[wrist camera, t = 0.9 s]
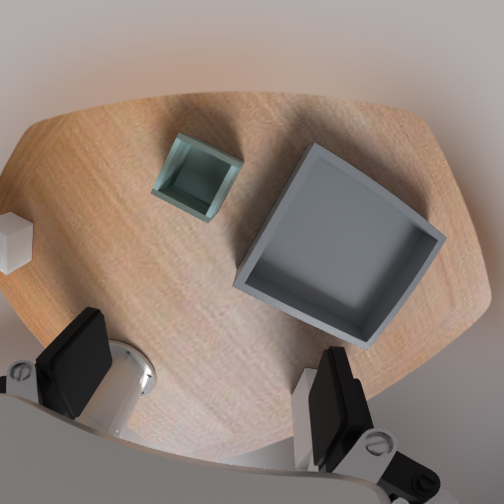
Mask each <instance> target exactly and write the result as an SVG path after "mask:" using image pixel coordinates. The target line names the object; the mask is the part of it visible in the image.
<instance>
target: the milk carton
mask: <svg viewBox="0 0 504 504" xmlns="http://www.w3.org/2000/svg"><path fill="white" fill-rule="evenodd" d="M317 370H318V369H311V368H305V369H304V371H303V373H302V375H301V377H300V379H299V382H298V384H297V386H296V388H295V390H294V392H293V394H292V396H291V403H292V418H293V433H294V449H295V466H296V469H297V470H298V471H314V472H319V471H318V466H314V462H313V449H312V437H311V426H310V415H309V405H308V396H309V392H310V390H311V387H312V384H313V381H314V378H315V375H316V373H317Z"/></svg>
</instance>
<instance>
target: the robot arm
mask: <svg viewBox="0 0 504 504" xmlns="http://www.w3.org/2000/svg"><path fill="white" fill-rule="evenodd" d="M36 362H37V363H36V364H35V365H34V364H33V363H31V362H30V361H27V360H20V361H17V362H14V363H13V364H12V365H11V366H10V367H9V369H8V370H7V376H2V377H0V504H460V503H459V502H458V501H457V500H456V499H455V498H454V497H453V496H451V495H450V493H448V492H447V491H446V490H445V491H442V490H441V489H440V479H439V477H438V475H437V474H436V473H435V472H433V471H432V470H430V469H428V468H426V467H425V466H423V465H421V464H419V463H417V462H415V461H413V460H412V459H410V458H408V457H407V456H405V455H403V454H401V453H400V452H398V451H396V450H397V441H396V438H395V437H394V436H393V435H392V434H391V433H390V432H388V431H387V430H384V429H380V428H374V426H373V423H372V419H371V416H370V412H369V409H368V405H367V402H366V398H365V395H364V392H363V388H362V385H361V382H360V380H359V379H354V378H353V375H352V372H351V368H350V365H349V362H348V358H347V355H346V352H345V349H344V347H334V346H330V347H329V349H328V350H326V349H325V350H324V352H323V355H322V358H321V361H320V364H319V367H318V370H317V373H316V375H315V378H314V381H313V384H312V387H311V390H310V392H309V396H308V405H309V415H310V426H311V437H312V449H313V462H314V466H318V471H319V472H314V471H294V470H293V471H292V470H275V469H264V468H254V467H244V466H236V465H229V464H222V463H216V462H210V461H204V460H199V459H194V458H189V457H185V456H180V455H176V454H172V453H168V452H164V451H160V450H156V449H152V448H149V447H145V446H142V445H139V444H135V443H132V442H129V441H126V440H123V439H120V437H121V435H122V433H123V431H124V429H125V427H126V424H127V422H128V420H129V418H130V416H131V414H132V412H133V409H134V407H135V405H136V403H137V401H138V399H139V397H140V396H143V395H146V394H148V393H150V392H151V391H152V390H153V388H154V386H155V384H156V374H155V371H154V369H153V367H152V365H151V363H150V362H149V361H148V360H147V358H146V357H145V356H144V355H143V354H142V353H140V352H139V351H138V350H136V349H135V348H133V347H132V346H130V345H128V344H125V343H123V342H120V341H116V340H108V336H107V331H106V326H105V320H104V315H103V314H102V313H101V311H100V310H99V309H95V308H92V307H87V308H85V309H84V310H83V311H82V312H81V313H80V314H79V315H78V316H77V317H76V318H75V319H74V320H73V321H72V322H71V323H70V324H69V325H68V326H67V327H66V328H65V329H64V330H63V331H62V332H61V333H60V334H59V335H58V336H57V337H56V338H55V339H54V341H53V342H52V343H51V344H50V345H49V346H48V347H47V348H46V349H45V350H44V351H43V352H42V353H41V354H40V355H39V356H38V358H37V359H36Z"/></svg>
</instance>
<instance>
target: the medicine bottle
mask: <svg viewBox="0 0 504 504" xmlns="http://www.w3.org/2000/svg"><path fill="white" fill-rule="evenodd" d="M33 227H34V224H33V223H31V222H29V221H27V220H26V219H24V218H22V217H20V216H18V215H16V214H14V213H12V212H8V213H5V214H3V215H0V271H1V272H3V273H4V274H6V275H8V274H10V273H11V272H13V271H15V270H16V269H18V268H20V267H21V266H23V265H25V264H27V263H28V262H30V261H31V260H32V242H33Z"/></svg>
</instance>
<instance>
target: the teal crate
mask: <svg viewBox="0 0 504 504" xmlns="http://www.w3.org/2000/svg"><path fill="white" fill-rule="evenodd" d="M243 164H244V161H242V160H240V159H238V158H236V157H234V156H232V155H230V154H228V153H226V152H224V151H222V150H220V149H218V148H216V147H214V146H212V145H210V144H208V143H206V142H204V141H202V140H200V139H198V138H195V137H193V136H190V135H186V134H182V133H178V135H177V137H176V139H175V141H174V143H173V145H172V147H171V149H170V152H169V154H168V156H167V158H166V160H165V162H164V164H163V166H162V169H161V171H160V173H159V175H158V178H157V180H156V182H155V184H154V187H153V189H152V191H151V194H153V195H155V196H157V197H159V198H161V199H162V200H164V201H166V202H168V203H170V204H172V205H174V206H176V207H178V208H180V209H182V210H183V211H185V212H187V213H189V214H191V215H193V216H195V217H197V218H199V219H201V220H202V221H204V222H206V223H209V222H210V221H211V220H212V219H213V217H214V216H215V215H216V214H217V213H218V211H219V209H220V207H221V205H222V203H223V201H224V200H225V198H226V196H227V194H228V192H229V190H230V188H231V186H232V184H233V183H234V181H235V179H236V177H237V175H238V173H239V171H240V169H241V168H242V166H243Z"/></svg>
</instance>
